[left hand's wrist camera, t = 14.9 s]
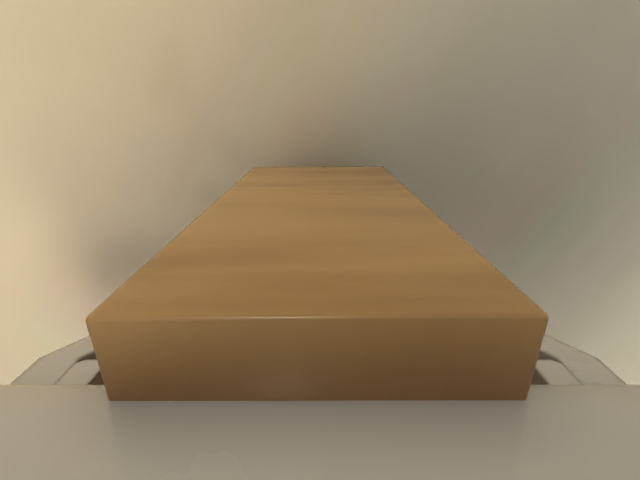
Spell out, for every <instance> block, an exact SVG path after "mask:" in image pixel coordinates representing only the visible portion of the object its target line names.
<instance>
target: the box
mask: <svg viewBox="0 0 640 480" xmlns="http://www.w3.org/2000/svg"><path fill="white" fill-rule="evenodd" d="M547 322H548V315H547V314H546V313H545V312H544V311H543V310H542V309H541V308H540V307H539V306H538V305H536V304H535V303H534V302H533V301H532V300H531V299H530V298H529V297H527V296H526V295H525V294H524V293H523V292H522V291H521V290H520V289H519V288H517V287H516V286H515V285H514V284H513V283H512V282H511V281H510V280H509V279H507V278H506V277H505V276H504V275H503V274H502V273H501V272H500V271H498V270H497V269H496V268H495V267H494V266H493V265H492V264H491V263H490V262H488V261H487V260H486V259H485V258H484V257H483V256H482V255H481V254H479V253H478V252H477V251H476V250H475V249H474V248H473V247H472V246H471V245H469V244H468V243H467V242H466V241H465V240H464V239H463V238H462V237H461V236H459V235H458V234H457V233H456V232H455V231H454V230H453V229H452V228H450V227H449V226H448V225H447V224H446V223H445V222H444V221H443V220H442V219H440V218H439V217H438V216H437V215H436V214H435V213H434V212H433V211H432V210H430V209H429V208H428V207H427V206H426V205H425V204H424V203H423V202H421V201H420V200H419V199H418V198H417V197H416V196H415V195H414V194H413V193H411V192H410V191H409V190H408V189H407V188H406V187H405V186H404V185H402V184H401V183H400V182H399V181H398V180H397V179H396V178H395V177H394V176H392V175H391V174H390V173H389V172H388V171H387V170H386V169H385V168H384V167H255V168H253V169H252V170H251V171H250V172H249V173H248V174H246V175H245V176H244V177H243V178H242V179H241V180H240V181H239V182H237V183H236V184H235V185H234V186H233V187H232V188H231V189H230V190H228V191H227V192H226V193H225V194H224V195H223V196H222V197H221V198H219V199H218V200H217V201H216V202H215V203H214V204H213V205H212V206H211V207H209V208H208V209H207V210H206V211H205V212H204V213H203V214H202V215H200V216H199V217H198V218H197V219H196V220H195V221H194V222H193V223H191V224H190V225H189V226H188V227H187V228H186V229H185V230H184V231H182V232H181V233H180V234H179V235H178V236H177V237H176V238H175V239H174V240H172V241H171V242H170V243H169V244H168V245H167V246H166V247H165V248H163V249H162V250H161V251H160V252H159V253H158V254H157V255H156V256H154V257H153V258H152V259H151V260H150V261H149V262H148V263H147V264H145V265H144V266H143V267H142V268H141V269H140V270H139V271H138V272H137V273H135V274H134V275H133V276H132V277H131V278H130V279H129V280H128V281H126V282H125V283H124V284H123V285H122V286H121V287H120V288H119V289H117V290H116V291H115V292H114V293H113V294H112V295H111V296H110V297H108V298H107V299H106V300H105V301H104V302H103V303H102V304H101V305H100V306H98V307H97V308H96V309H95V310H94V311H93V312H92V313H91V314H89V315H88V316H87V318H86V324H87V328H88V331H89V335H90V338H91V341H92V345H93V348H94V352H95V355H96V359H97V362H98V365H99V369H100V372H101V376H102V379H103V383H104V386H105V389H106V393H107V396H108V400H110V401H398V400H526V399H527V396H528V392H529V389H530V385H531V381H532V378H533V374H534V370H535V367H536V363H537V359H538V356H539V352H540V348H541V345H542V341H543V337H544V334H545V330H546V326H547Z"/></svg>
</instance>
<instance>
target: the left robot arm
mask: <svg viewBox="0 0 640 480" xmlns="http://www.w3.org/2000/svg"><path fill="white" fill-rule="evenodd" d="M0 480H640V385H627V384H626V383H625V382H623V381H622V380H621V379H620V378H619V377H618V376H617V375H616V374H615V373H613V372H612V371H611V370H610V369H609V368H608V367H607V366H606V365H605V364H604V363H602V362H601V361H600V360H599V359H598V358H596V357H593V356H591V355H589V354H587V353H585V352H582V351H580V350H578V349H576V348H573V347H571V346H569V345H567V344H565V343H562V342H560V341H558V340H556V339H554V338H551V337H549V336H547V335H545V334H544V337H543V341H542V345H541V348H540V352H539V356H538V359H537V363H536V367H535V370H534V374H533V378H532V381H531V385H530V389H529V392H528V396H527V399H526V400H398V401H110V400H108V396H107V393H106V389H105V386H104V383H103V379H102V376H101V372H100V369H99V365H98V362H97V359H96V355H95V352H94V348H93V345H92V341H91V338H90V336H88V337H86V338H83V339H81V340H79V341H77V342H74V343H72V344H70V345H68V346H65V347H63V348H61V349H59V350H56V351H54V352H52V353H50V354H48V355H45V356H43V357H41V358H39V359H38V360H37V361H36V362H34V363H33V364H32V365H31V366H30V367H29V368H28V369H27V370H25V371H24V372H23V373H22V374H21V375H20V376H19V377H18V378H16V379H15V380H14V381H13V382H12V383H11V384H10V385H0Z"/></svg>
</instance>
